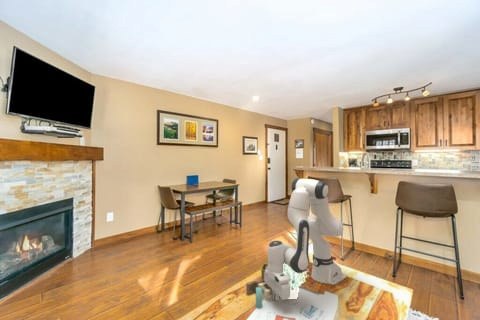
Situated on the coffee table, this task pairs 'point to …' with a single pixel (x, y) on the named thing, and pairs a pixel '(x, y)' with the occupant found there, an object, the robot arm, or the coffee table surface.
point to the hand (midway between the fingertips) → (276, 298)
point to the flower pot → (263, 270)
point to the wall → (253, 286)
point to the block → (266, 291)
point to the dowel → (259, 297)
